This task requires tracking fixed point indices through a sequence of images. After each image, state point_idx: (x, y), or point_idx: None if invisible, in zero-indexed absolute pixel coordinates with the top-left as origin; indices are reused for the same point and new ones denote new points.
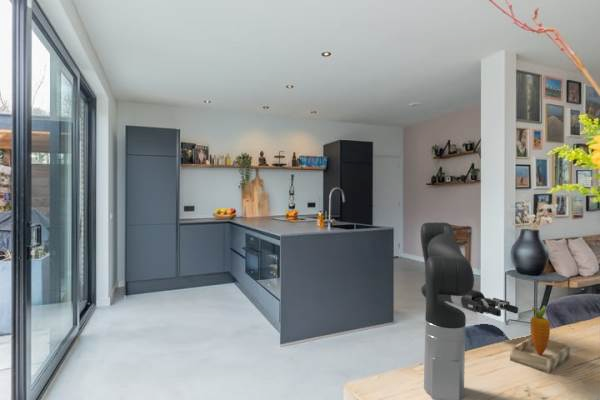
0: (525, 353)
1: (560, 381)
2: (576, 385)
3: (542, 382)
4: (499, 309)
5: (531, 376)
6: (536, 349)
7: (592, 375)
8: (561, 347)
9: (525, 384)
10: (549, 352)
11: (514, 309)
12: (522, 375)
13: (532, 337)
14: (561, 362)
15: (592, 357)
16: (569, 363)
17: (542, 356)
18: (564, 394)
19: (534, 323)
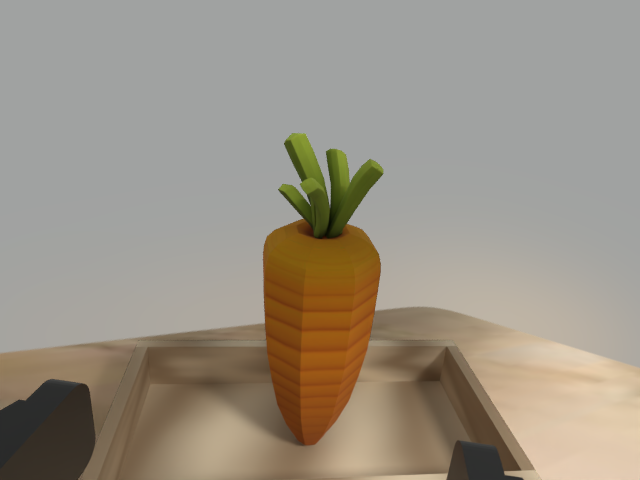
0: (496, 411)
1: None
2: (428, 331)
3: (541, 380)
4: (462, 449)
5: (548, 413)
6: (334, 422)
7: None
8: (141, 381)
9: (633, 403)
10: (207, 431)
11: (72, 434)
12: (588, 434)
13: (347, 380)
14: None
15: (61, 350)
16: None
17: None
18: (530, 334)
19: (378, 272)
